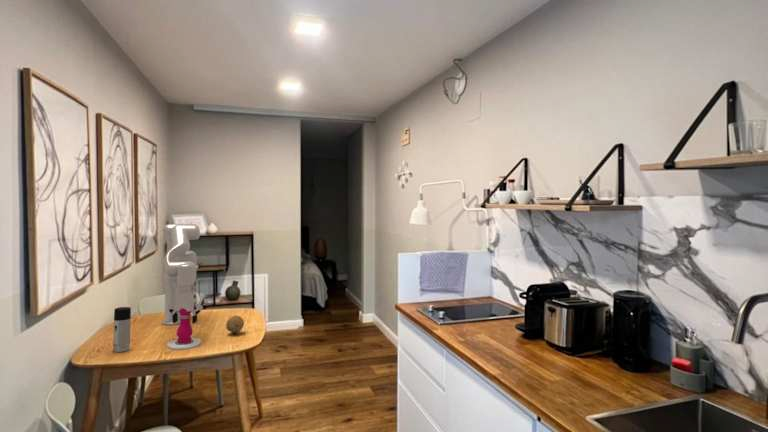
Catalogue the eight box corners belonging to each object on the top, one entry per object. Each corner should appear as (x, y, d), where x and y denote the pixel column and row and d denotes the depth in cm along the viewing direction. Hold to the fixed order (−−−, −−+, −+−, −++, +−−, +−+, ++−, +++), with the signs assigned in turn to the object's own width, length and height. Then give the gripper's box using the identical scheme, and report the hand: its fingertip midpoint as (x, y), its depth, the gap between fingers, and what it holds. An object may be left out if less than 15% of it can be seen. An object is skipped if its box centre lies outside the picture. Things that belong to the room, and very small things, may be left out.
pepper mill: (185, 344, 198) (187, 303, 198) (173, 343, 200) (174, 302, 200) (195, 340, 205) (196, 300, 205) (183, 338, 207) (184, 299, 207)
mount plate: (177, 339, 210) (177, 336, 210) (206, 340, 210) (206, 337, 210) (161, 349, 195) (161, 346, 195) (192, 350, 195) (192, 347, 195)
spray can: (118, 347, 196) (118, 306, 195) (132, 347, 196) (133, 306, 196) (110, 352, 189) (110, 310, 189) (125, 352, 190) (126, 310, 189)
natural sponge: (237, 337, 216) (237, 318, 216) (222, 335, 217) (222, 317, 217) (246, 332, 225) (246, 314, 224) (232, 331, 226) (232, 313, 226)
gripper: (206, 287, 206) (205, 321, 206) (172, 286, 206) (171, 319, 206) (199, 290, 198) (198, 325, 198) (164, 289, 198) (163, 324, 199)
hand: (184, 322), depth 202 cm, fingers open, 9 cm apart
